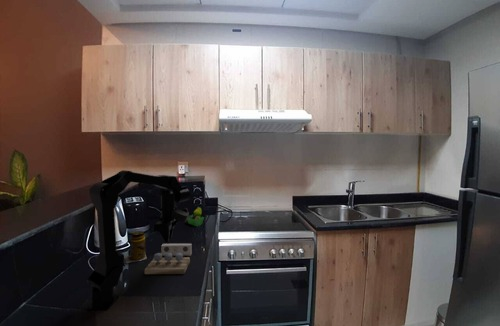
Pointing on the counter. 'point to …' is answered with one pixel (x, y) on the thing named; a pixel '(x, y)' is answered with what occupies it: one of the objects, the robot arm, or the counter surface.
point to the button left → (158, 257)
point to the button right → (179, 257)
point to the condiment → (137, 247)
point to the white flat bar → (176, 249)
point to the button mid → (168, 257)
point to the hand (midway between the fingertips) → (168, 240)
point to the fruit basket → (196, 218)
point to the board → (168, 266)
